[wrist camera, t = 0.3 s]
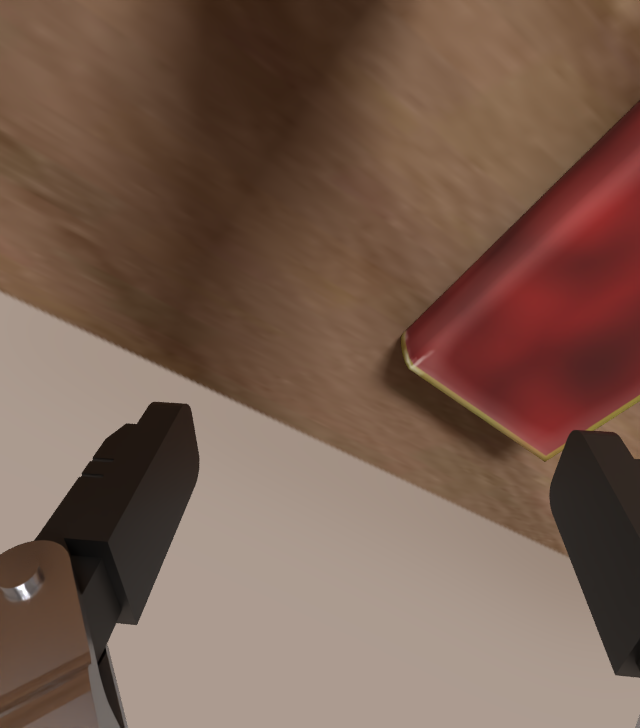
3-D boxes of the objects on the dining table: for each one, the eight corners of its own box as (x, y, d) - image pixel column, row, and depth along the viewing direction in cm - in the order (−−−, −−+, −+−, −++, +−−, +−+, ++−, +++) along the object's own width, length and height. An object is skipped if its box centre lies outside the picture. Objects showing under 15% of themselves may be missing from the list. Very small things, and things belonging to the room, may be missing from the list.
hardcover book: (399, 328, 31) (403, 367, 27) (739, -10, 20) (815, -15, 17) (528, 420, 34) (546, 465, 31) (877, 173, 24) (963, 199, 20)
